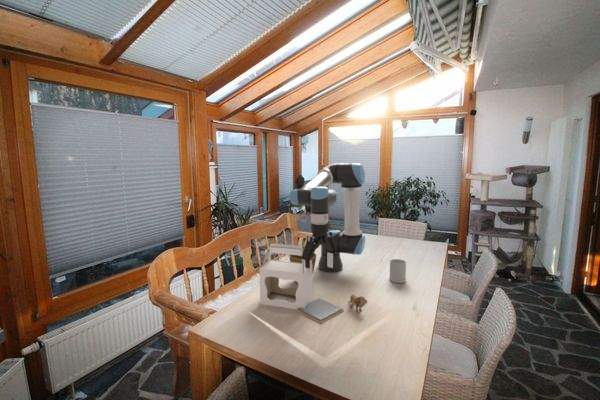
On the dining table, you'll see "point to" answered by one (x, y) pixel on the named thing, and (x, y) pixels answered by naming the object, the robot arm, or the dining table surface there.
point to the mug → (397, 271)
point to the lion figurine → (357, 302)
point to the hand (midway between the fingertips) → (319, 270)
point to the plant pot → (298, 259)
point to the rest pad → (320, 310)
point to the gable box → (284, 277)
